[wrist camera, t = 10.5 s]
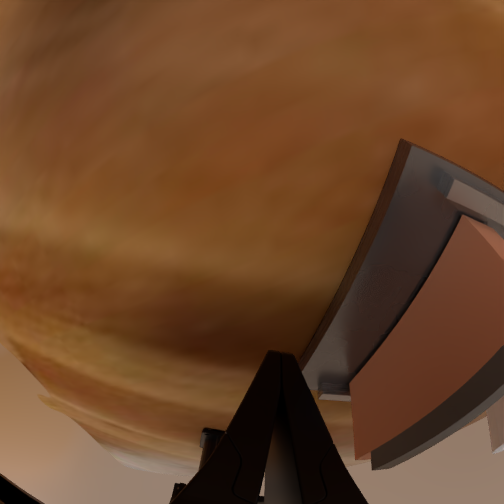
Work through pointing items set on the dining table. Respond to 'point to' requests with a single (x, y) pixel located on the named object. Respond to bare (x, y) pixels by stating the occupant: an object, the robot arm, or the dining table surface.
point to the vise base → (395, 261)
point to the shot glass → (496, 425)
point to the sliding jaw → (436, 355)
